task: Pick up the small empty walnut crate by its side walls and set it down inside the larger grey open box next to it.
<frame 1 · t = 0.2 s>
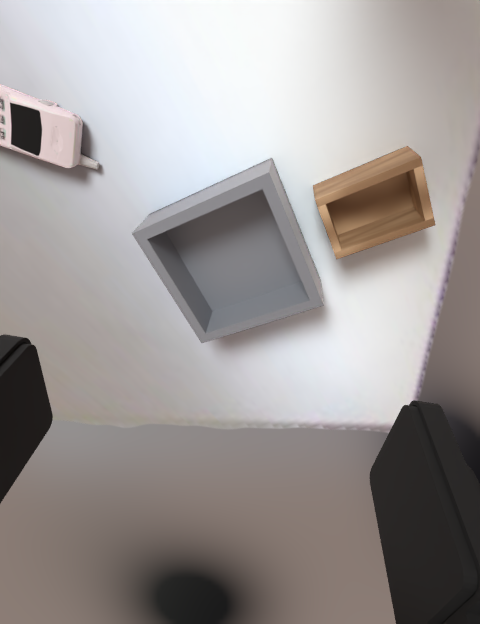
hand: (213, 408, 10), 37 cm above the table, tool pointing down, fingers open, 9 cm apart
grey open box: (236, 247, 47), on the table
walnut crate: (367, 197, 42), on the table
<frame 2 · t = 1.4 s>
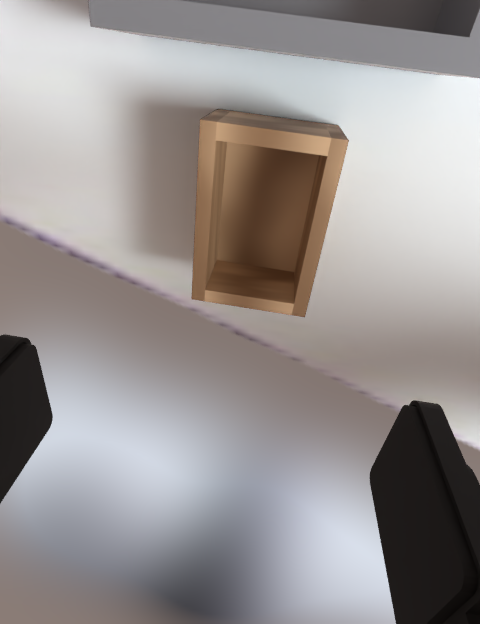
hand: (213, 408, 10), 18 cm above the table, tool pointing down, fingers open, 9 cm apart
walnut crate: (265, 202, 25), on the table
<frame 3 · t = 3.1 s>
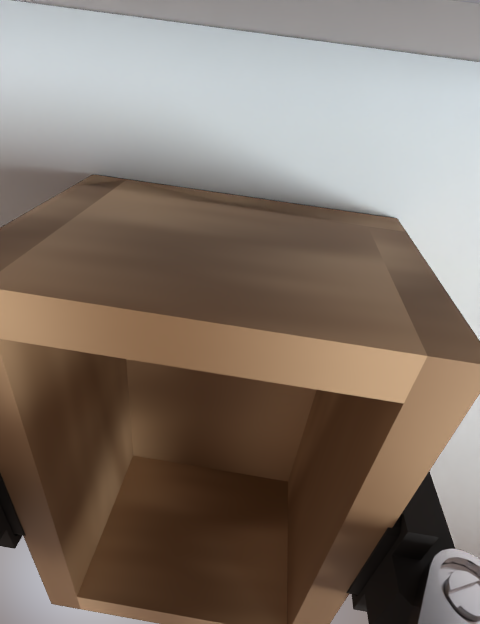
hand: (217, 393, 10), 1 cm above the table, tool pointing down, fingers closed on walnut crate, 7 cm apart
walnut crate: (224, 361, 11), on the table, touching gripper
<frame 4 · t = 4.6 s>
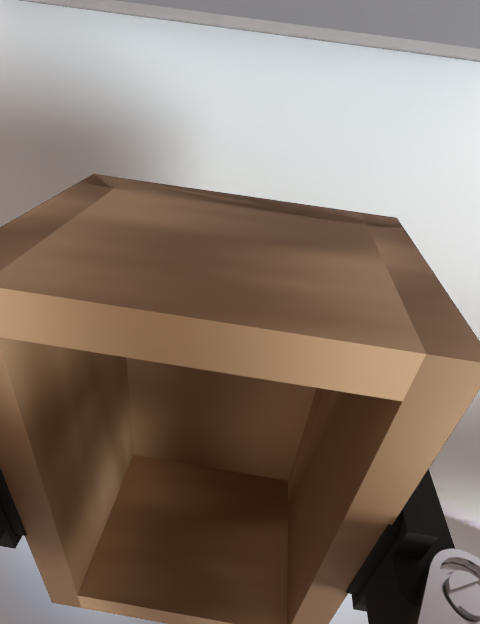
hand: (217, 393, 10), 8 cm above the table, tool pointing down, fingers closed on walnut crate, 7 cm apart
walnut crate: (224, 360, 11), point 6 cm above the table, touching gripper
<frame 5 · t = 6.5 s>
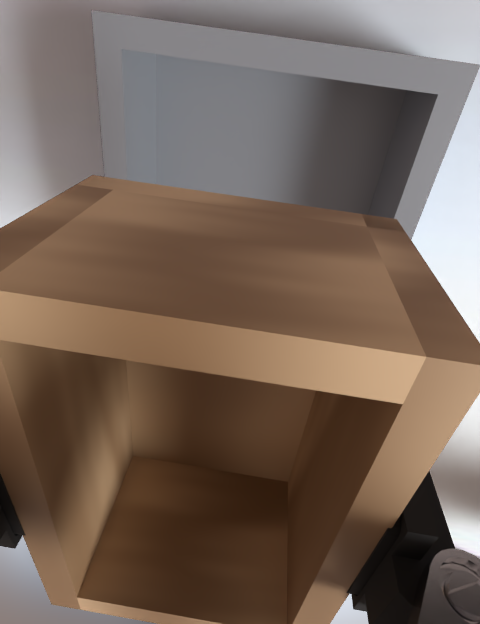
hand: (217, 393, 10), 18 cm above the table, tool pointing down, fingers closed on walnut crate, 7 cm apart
grey open box: (262, 191, 25), on the table
walnut crate: (223, 361, 11), point 17 cm above the table, touching gripper
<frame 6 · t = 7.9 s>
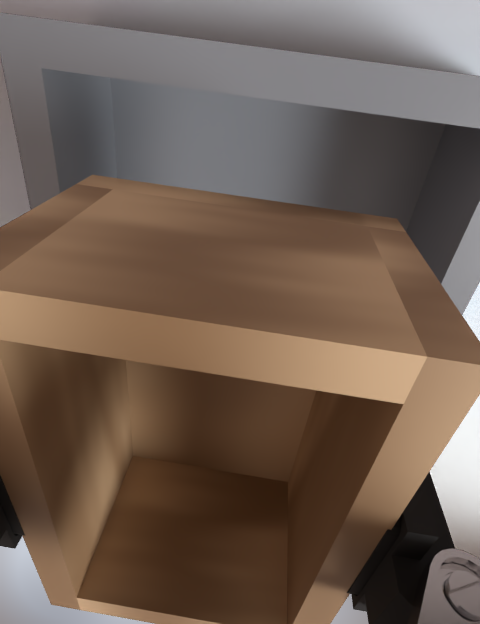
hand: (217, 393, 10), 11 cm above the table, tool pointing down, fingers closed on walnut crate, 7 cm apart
grey open box: (256, 239, 20), on the table
walnut crate: (223, 361, 11), point 10 cm above the table, touching gripper
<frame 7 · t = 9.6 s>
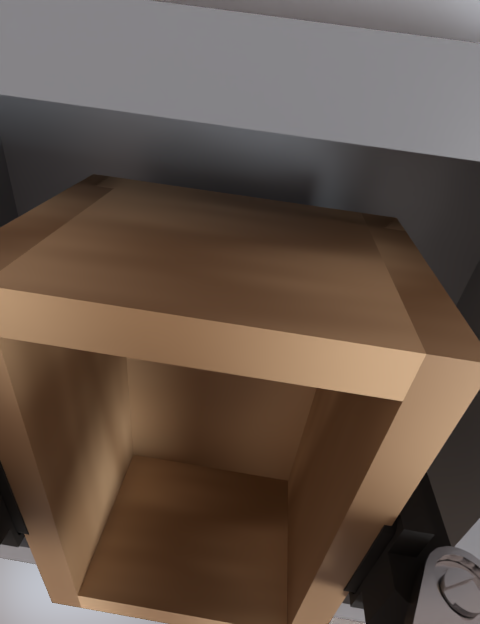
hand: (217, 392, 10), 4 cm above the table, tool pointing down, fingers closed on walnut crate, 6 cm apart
grey open box: (233, 308, 14), on the table
walnut crate: (224, 360, 11), point 3 cm above the table, touching gripper
when the fingers open (4 cm above the table, at t = 9.7 s): walnut crate drops 2 cm, resting on grey open box.
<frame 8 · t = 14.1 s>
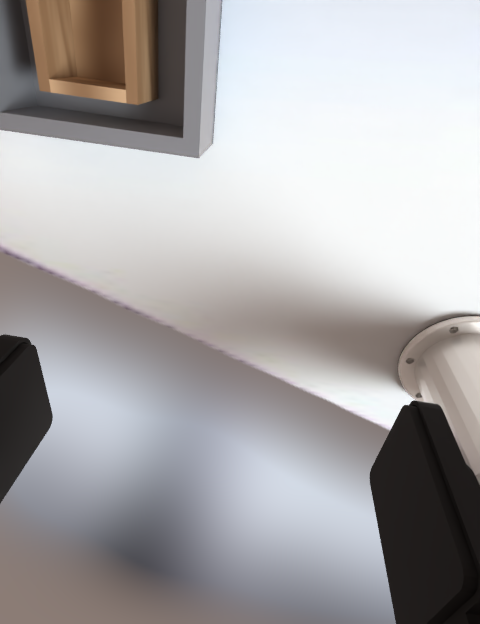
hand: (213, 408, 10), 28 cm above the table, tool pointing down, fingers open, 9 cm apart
grey open box: (115, 15, 29), on the table
walnut crate: (111, 14, 28), point 1 cm above the table, touching grey open box
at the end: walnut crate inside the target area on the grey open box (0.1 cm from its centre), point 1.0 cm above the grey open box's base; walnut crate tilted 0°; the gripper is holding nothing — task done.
